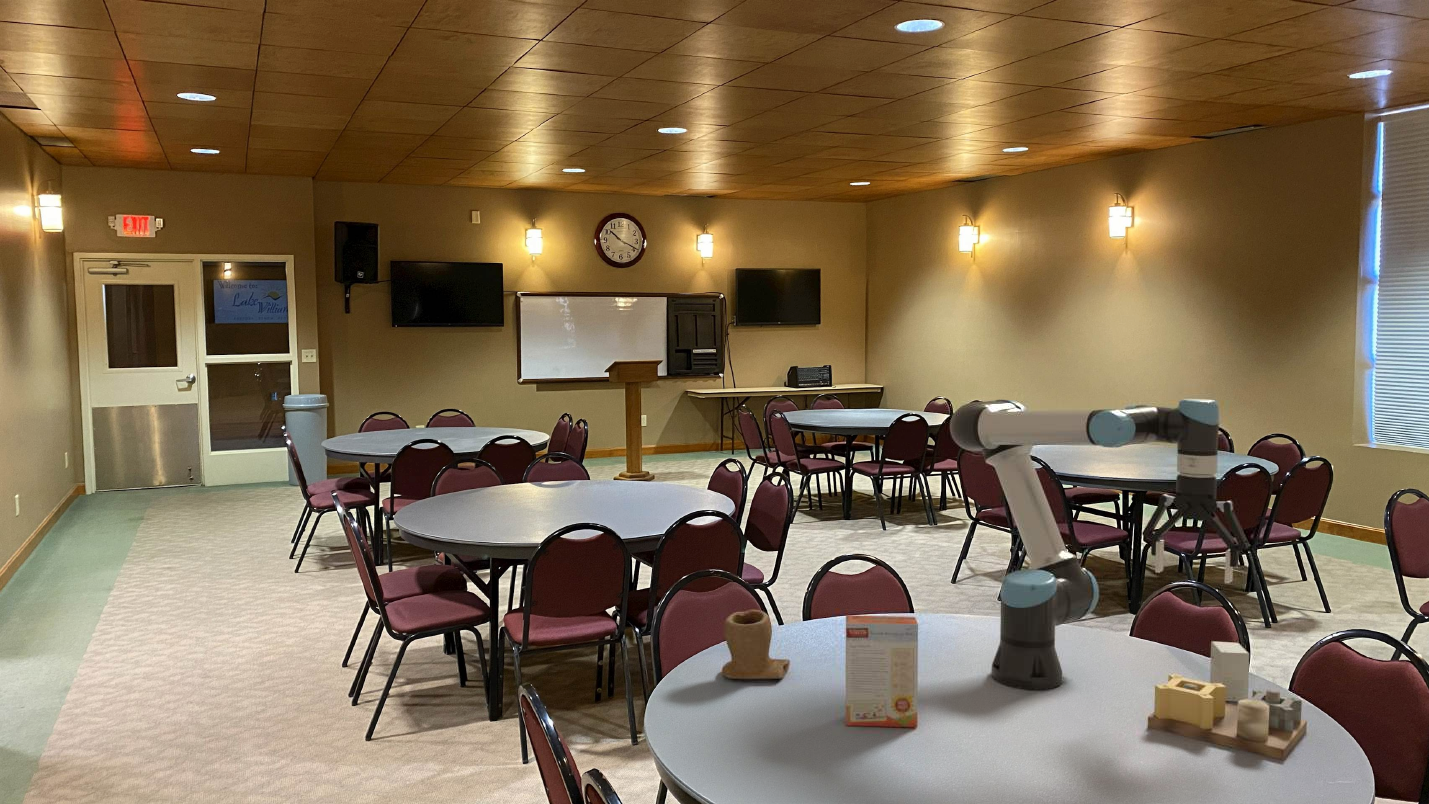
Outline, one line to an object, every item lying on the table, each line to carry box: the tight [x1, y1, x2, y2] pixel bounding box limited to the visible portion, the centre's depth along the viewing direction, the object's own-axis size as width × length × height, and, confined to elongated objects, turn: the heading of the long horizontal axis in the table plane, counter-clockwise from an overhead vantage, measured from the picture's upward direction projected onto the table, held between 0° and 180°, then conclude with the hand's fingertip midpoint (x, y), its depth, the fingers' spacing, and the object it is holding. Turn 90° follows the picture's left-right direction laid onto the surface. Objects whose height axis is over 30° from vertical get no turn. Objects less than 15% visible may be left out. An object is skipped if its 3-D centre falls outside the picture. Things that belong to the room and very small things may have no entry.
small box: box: [1209, 640, 1250, 703], centre depth 222 cm, size 8×6×10 cm
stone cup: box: [721, 609, 791, 680], centre depth 234 cm, size 15×12×15 cm
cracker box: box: [845, 614, 919, 728], centre depth 207 cm, size 14×6×21 cm, turn 84°
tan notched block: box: [1153, 673, 1227, 729], centre depth 206 cm, size 11×11×6 cm
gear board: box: [1147, 684, 1308, 761], centre depth 204 cm, size 24×18×8 cm
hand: (1193, 576), depth 216 cm, fingers open, 13 cm apart
